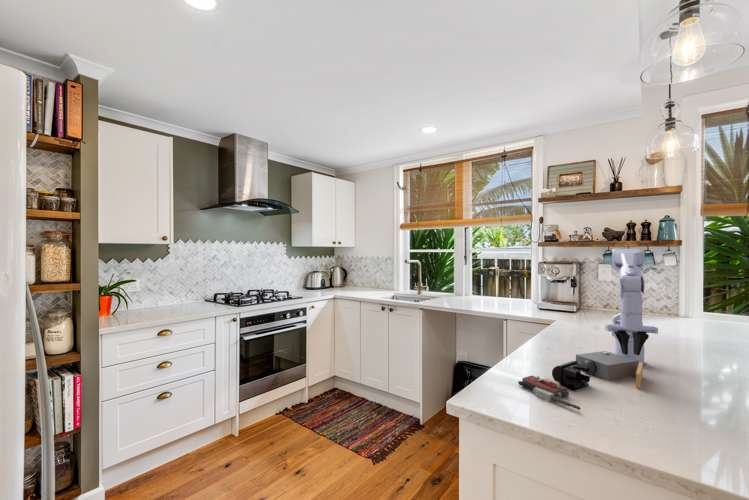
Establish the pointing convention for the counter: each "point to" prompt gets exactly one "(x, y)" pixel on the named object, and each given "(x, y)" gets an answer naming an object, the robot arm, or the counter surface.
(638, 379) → the long wooden stick
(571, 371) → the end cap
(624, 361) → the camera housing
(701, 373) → the counter surface
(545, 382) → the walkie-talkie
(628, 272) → the robot arm
